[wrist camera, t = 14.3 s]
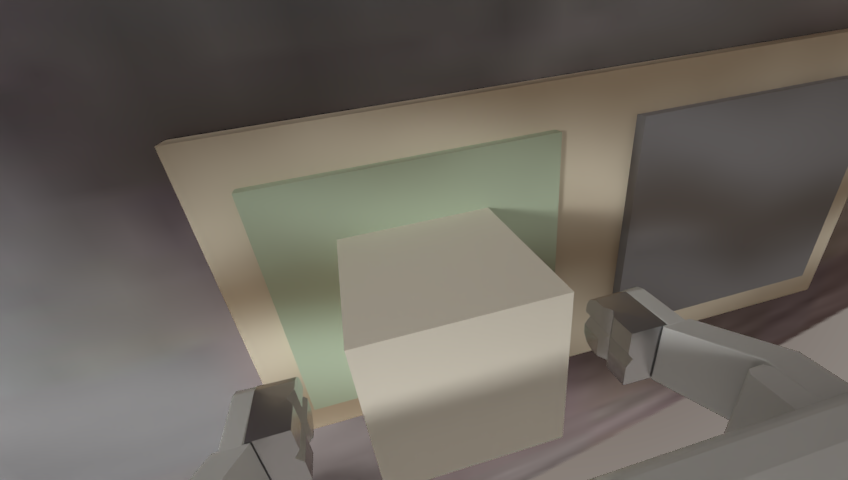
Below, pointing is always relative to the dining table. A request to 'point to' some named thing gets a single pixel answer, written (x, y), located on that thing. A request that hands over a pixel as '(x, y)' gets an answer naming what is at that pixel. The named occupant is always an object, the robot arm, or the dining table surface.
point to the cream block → (453, 343)
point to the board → (534, 191)
